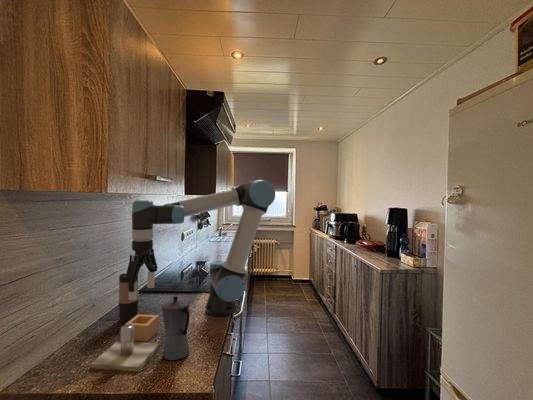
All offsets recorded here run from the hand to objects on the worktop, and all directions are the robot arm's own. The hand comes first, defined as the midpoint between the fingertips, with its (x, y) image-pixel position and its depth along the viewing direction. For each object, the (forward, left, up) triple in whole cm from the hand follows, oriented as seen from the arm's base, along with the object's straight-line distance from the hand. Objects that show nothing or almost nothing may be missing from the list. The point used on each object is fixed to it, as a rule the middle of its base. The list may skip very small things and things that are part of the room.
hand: (142, 293), depth 111 cm
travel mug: (-12, -13, -17) cm, 24 cm away
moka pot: (+11, +19, -17) cm, 28 cm away
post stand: (+15, +3, -16) cm, 22 cm away
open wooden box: (0, 0, -17) cm, 17 cm away
